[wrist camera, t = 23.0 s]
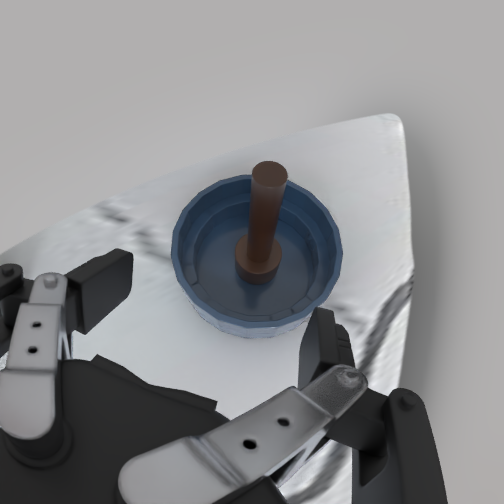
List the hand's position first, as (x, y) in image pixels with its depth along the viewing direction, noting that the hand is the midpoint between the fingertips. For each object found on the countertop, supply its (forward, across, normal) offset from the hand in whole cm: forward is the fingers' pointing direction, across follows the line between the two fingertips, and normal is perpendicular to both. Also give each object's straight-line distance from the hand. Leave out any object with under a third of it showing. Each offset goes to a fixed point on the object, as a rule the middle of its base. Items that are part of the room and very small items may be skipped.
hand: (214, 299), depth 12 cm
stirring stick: (+18, 0, +5) cm, 18 cm away
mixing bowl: (+18, 0, +6) cm, 19 cm away
